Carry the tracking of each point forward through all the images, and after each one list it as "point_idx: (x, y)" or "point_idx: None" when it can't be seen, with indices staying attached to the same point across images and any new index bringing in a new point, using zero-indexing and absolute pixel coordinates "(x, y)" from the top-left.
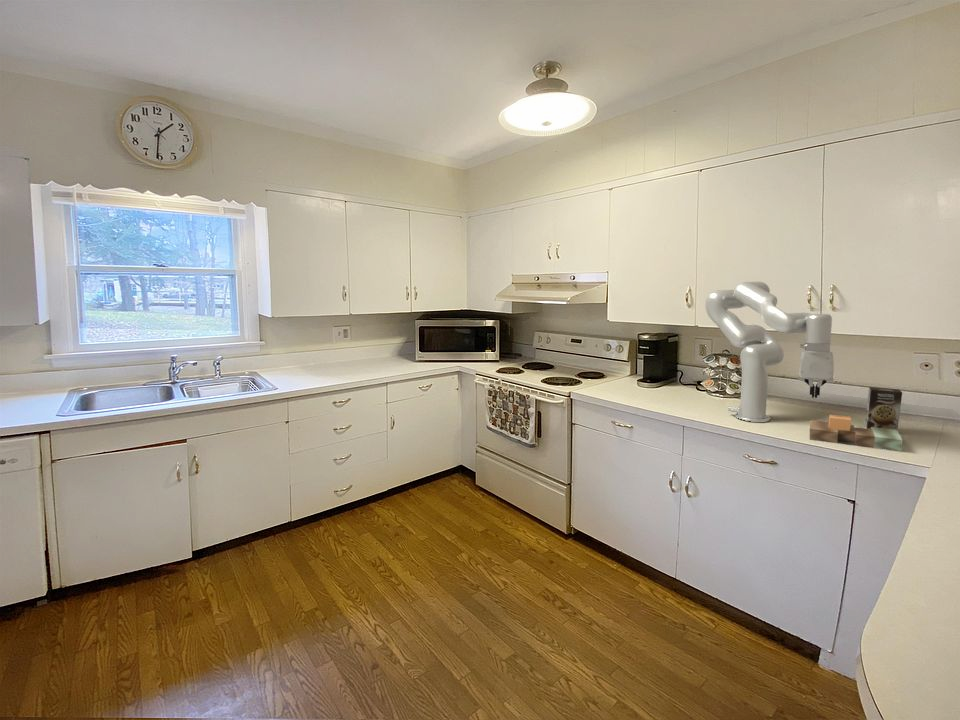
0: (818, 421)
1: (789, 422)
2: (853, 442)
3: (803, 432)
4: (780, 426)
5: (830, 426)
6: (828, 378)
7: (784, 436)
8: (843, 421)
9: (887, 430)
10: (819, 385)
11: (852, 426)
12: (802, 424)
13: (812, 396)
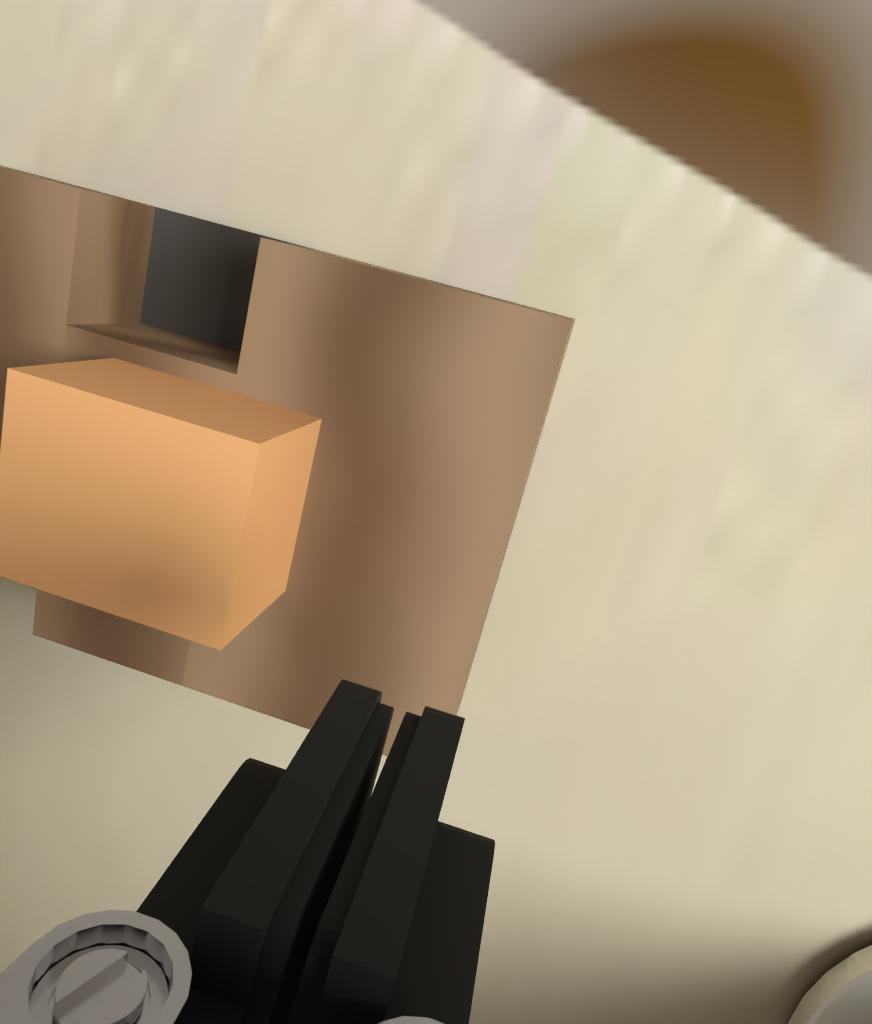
0: None
1: (585, 958)
2: (155, 284)
3: (553, 605)
4: (741, 802)
5: (298, 416)
6: None
7: (848, 381)
8: (114, 387)
9: None
10: (80, 997)
11: None
12: None
13: (447, 725)
